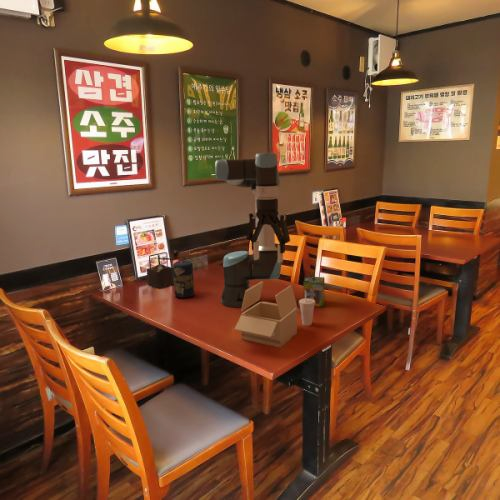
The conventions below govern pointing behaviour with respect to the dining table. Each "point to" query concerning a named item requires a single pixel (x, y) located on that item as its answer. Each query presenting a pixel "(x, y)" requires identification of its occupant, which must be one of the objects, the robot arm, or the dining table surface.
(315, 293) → the chalk box
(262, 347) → the dining table surface
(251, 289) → the flap
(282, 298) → the flap
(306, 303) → the smoothie
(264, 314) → the carton
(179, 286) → the canister
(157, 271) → the dark condiment caddy
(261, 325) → the flap
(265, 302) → the flap
